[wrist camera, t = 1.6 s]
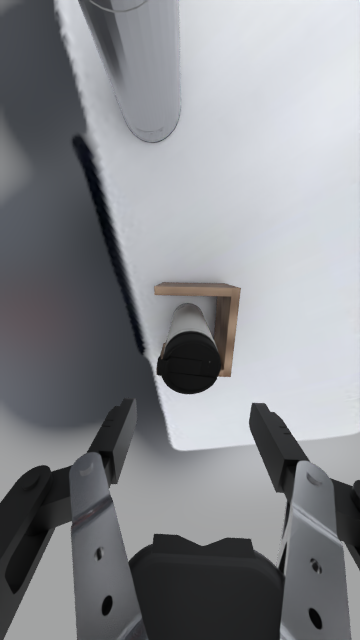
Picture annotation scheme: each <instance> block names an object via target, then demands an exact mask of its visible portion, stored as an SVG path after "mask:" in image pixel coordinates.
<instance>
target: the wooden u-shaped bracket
mask: <svg viewBox="0 0 360 640" xmlns="http://www.w3.org/2000/svg"><path fill="white" fill-rule="evenodd" d="M240 290H241V288H238V287H235V286H231V285H228V284H224V283H169V282H163V283H161V284H159V285H157V286H154V291H155V295H180V296H217V307H216V320H215V333H214V342H215V344H216V347H217V350H218V353H219V355H220V360H221V371H220V373H219V375H218V376H219V377H231V368H232V360H233V351H234V342H235V334H236V325H237V316H238V308H239V299H240ZM165 345H166V343H164V344H163V348H162V351H161V355H160V356H161V359H162V358H163V355H164V349H165Z"/></svg>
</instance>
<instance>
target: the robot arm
mask: <svg viewBox="0 0 360 640" xmlns="http://www.w3.org/2000/svg"><path fill="white" fill-rule="evenodd" d="M78 1H79V4H80V7H81V9H82V12H83V14H84V17H85V19H86V22H87V24H88V27H89V29H90V32H91V35H92V37H93V40H94V42H95V45H96V47H97V50H98V52H99V55H100V58H101V60H102V63H103V65H104V68H105V70H106V73H107V75H108V78H109V80H110V83H111V86H112V88H113V91H114V93H115V96H116V99H117V101H118V104H119V106H120V109H121V111H122V114H123V116H124V119H125V121H126V124H127V125H128V127H129V129H130V130H131V131H132V132H133V133H134V135H135V136H137V137H138V138H140V139H141V140H144V141H147V142H157V141H160V140H163V139H164V138H166V137H167V136H168V135H169V134H170V133H171V132H172V131H173V130H174V128H175V126H176V124H177V122H178V119H179V116H180V110H181V84H180V31H179V0H78ZM136 410H137V409H136V399H134V398H124V399H123V401H122V403H121V405H120V406H115V407H114V408H113V409H112V410H111V411H110V412H109V413H108V415H107V417H106V419H105V421H104V422H103V424H102V427H101V428H100V430H99V431H98V433H97V435H96V437H95V439H94V441H93V442H92V444H91V446H90V448H89V450H88V451H87V453H86V454H84V455H83V456H81V457H80V458H78V459H77V460H76V462H75V463H74V464H73V465H71V466H69V467H66V468H62V469H59V470H56V471H53V472H51V470H50V468H49V467H48V466H45V465H42V466H37V467H35V468H33V469H31V470H29V471H28V472H26V473H25V474H24V475H22V476H21V477H20V478H19V479H18V480H17V482H16V483H15V484H14V486H13V487H12V488H11V490H10V491H9V492H8V494H7V495H6V496H5V497H4V499H3V500H2V501H1V503H0V640H3V639H4V637H5V635H6V633H7V630H8V628H9V626H10V624H11V622H12V620H13V618H14V616H15V613H16V611H17V609H18V607H19V604H20V603H21V600H22V598H23V596H24V594H25V592H26V590H27V588H28V586H29V583H30V581H31V579H32V577H33V575H34V573H35V570H36V568H37V566H38V564H39V562H40V560H41V558H42V555H43V553H44V551H45V549H46V547H47V545H48V543H49V541H50V538H51V536H52V534H53V532H54V530H55V527H57V526H60V525H62V524H65V523H67V522H70V521H72V526H71V542H72V558H73V559H72V560H73V577H74V593H75V611H76V628H77V640H351V631H350V618H349V608H348V596H347V584H346V573H345V561H344V551H343V545H342V542H341V541H344V542H345V544H346V546H347V548H348V550H349V552H350V554H351V555H352V557H353V559H354V561H355V563H356V564H357V566H358V568H359V570H360V480H357V481H355V483H354V485H353V486H350V485H348V484H345V483H342V482H339V481H336V480H334V479H331V478H329V477H328V475H327V474H326V473H325V472H324V471H323V470H322V469H321V468H320V467H318V466H317V465H315V464H313V463H311V462H310V461H309V459H308V458H307V456H306V455H305V453H304V452H303V450H302V449H301V447H300V446H299V444H298V443H297V441H296V440H295V438H294V437H293V435H291V432H290V431H289V429H288V428H287V426H286V425H285V423H284V422H283V420H282V419H281V418H280V417H279V416H278V415H277V414H276V413H275V412H270V410H269V409H268V407H267V406H266V404H265V403H252V406H251V413H250V419H249V426H250V430H251V433H252V435H253V438H254V440H255V443H256V445H257V447H258V450H259V452H260V455H261V457H262V459H263V462H264V464H265V467H266V469H267V471H268V474H269V476H270V478H271V481H272V483H273V486H274V488H275V491H276V492H280V493H284V494H285V496H286V498H287V502H286V507H285V514H284V521H283V528H282V535H281V542H280V548H279V553H278V557H277V562H276V566H275V565H274V564H273V563H272V562H271V561H270V560H269V559H267V558H266V557H265V556H263V555H262V554H260V553H258V552H257V551H255V550H253V546H252V542H251V539H244V538H224V539H222V540H219V541H217V542H214V543H211V544H209V545H206V546H200V545H198V544H196V543H194V542H192V541H189V540H187V539H185V538H183V537H181V536H179V535H168V534H167V535H166V534H154V538H153V544H151V545H148V546H146V547H145V548H143V549H141V550H140V551H139V552H138V553H136V554H135V555H134V556H133V557H132V558H131V559H130V561H129V562H128V559H127V555H126V551H125V547H124V543H123V540H122V535H121V531H120V527H119V524H118V520H117V515H116V511H115V507H114V504H113V500H112V498H111V495H110V491H109V488H110V485H111V484H117V482H118V479H119V476H120V473H121V470H122V467H123V464H124V461H125V458H126V455H127V452H128V448H129V445H130V442H131V439H132V436H133V433H134V430H135V427H136V422H137V411H136Z"/></svg>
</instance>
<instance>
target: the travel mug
mask: <svg viewBox="0 0 360 640" xmlns="http://www.w3.org/2000/svg"><path fill="white" fill-rule="evenodd" d="M220 371H221V360H220V355H219V353H218V350H217V347H216V344H215V342H214V339H213V337H212V335H211V332H210V330H209V328H208V326H207V323H206V321H205V319H204V316H203V314H202V312H201V310H200V309H199V308H198V307H197V306H196V305H194V304H189V303H187V304H182V305H180V306H179V307H178V308H177V309H176V310H175V312H174V315H173V318H172V322H171V326H170V330H169V334H168V338H167V341H166V345H165V349H164V355H163V358H162V359H161V356H159V358H158V362H157V375H160V376H162V378H163V380H164V382H165V383H166V385H167V386H168V387H169V388H171V389H172V390H174V391H176V392H179V393H182V394H195V393H200V392H202V391H205V390H206V389H208V388H210V387H211V386H212V385H213V384H214V382H215V381H216V380H217V377H218V375H219V373H220Z"/></svg>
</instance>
